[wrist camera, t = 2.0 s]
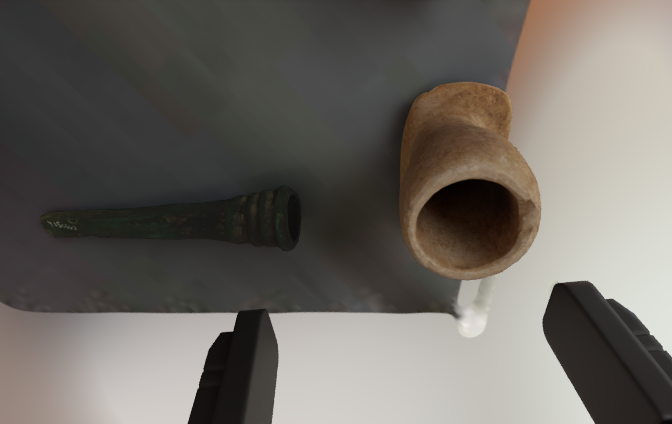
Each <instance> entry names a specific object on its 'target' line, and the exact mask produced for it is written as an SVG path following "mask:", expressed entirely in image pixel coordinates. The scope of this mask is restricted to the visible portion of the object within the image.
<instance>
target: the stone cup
mask: <svg viewBox="0 0 672 424" xmlns="http://www.w3.org/2000/svg"><path fill="white" fill-rule="evenodd" d="M511 118H512V105H511V99H510V97H509V96H508V94H506V93H505V92H503V91H502V90H501V89H499V88H496V87H494V86H491V85H487V84H482V83H477V82H455V83H448V84H442V85H439V86H437V87H435V88H433V89H432V90H431V91H430V92H425V93H422V94H420V95H419V96H418V97H417V98H416V99H415V101H414V102H413V104H412V106H411V108H410V111H409V114H408V117H407V120H406V123H405V128H404V132H403V137H402V146H401V158H400V196H399V216H400V226H401V233H402V236H403V239H404V242H405V244H406V245H407V247H408V249H409V251H410V252H411V254H412V255H413V256H414V258H415V259H416V260H417V261H418V262H419V263H420V264H421V265H423V266H424V267H425V268H427V269H429V270H430V271H432V272H434V273H436V274H438V275H441V276H444V277H447V278H452V279H459V280H475V279H481V278H485V277H488V276H491V275H495V274H497V273H500V272H502V271H503V270H505V269H507V268H508V267H509V266H511V265H512V264H514V263H515V262H517V261H518V260H519V259H520V258H521V257H522V256H523V255H524V254H525V253H526V252H527V251H528V249H529V248H530V247H531V245H532V243H533V241H534V239H535V237H536V235H537V232H538V229H539V224H540V219H541V201H540V192H539V188H538V184H537V181H536V178H535V176H534V174H533V172H532V171H531V169H530V167H529V166H528V164H527V162H526V161H525V159H524V158H523V157H522V155H521V154H520V152H519V151H518V150H517V149H516V147H514V146H513V145H512V144H511V143H510V142H509V141H508V138H509V133H510V125H511Z"/></svg>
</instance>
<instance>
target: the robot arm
mask: <svg viewBox="0 0 672 424" xmlns="http://www.w3.org/2000/svg"><path fill="white" fill-rule="evenodd" d="M543 331H544V334H545V337H546V339H547V341H548V343H549V345H550V347H551V348H552V350H553V352H554V354H555V355H556V357H557V359H558V360H559V362H560V364H561V366H562V367H563V369H564V371H565V373H566V374H567V376H568V378H569V379H570V381H571V383H572V384H573V386H574V388H575V390H576V392H577V393H578V395H579V397H580V398H581V400H582V402H583V404H584V405H585V407H586V409H587V411H588V412H589V414H590V416H591V417H592V419H593V421H594V422H595V424H672V357H671V356H670V355H669V354H668V353H667V351H664V350H663V348H662V345H661V344H660V343H659V342H658V341H657V340H656V339H655V337H654V336H652V335H650V333H649V330H648V329H647V328H646V327H645V326H644V325H643V324H642V322H641V321H640V320H639V319H638V318H637V317H636V315H635V314H634V313H632V312H631V311H629V310H628V309H627V308H625V307H623V306H622V305H621V304H619V303H618V302H616V301H615V300H614V299H604V297H603V296H602V295H601V293H600V292H599V291H598V290H597V289H596V287H595V286H594V285H593V284H592V283H590V282H588V281H577V282H566V283H557V284H555V286H554V287H553V290H552V293H551V296H550V299H549V302H548V305H547V308H546V311H545V314H544V317H543ZM277 368H278V344H277V340H276V337H275V333H274V330H273V327H272V324H271V321H270V317H269V314H268V311H267V309H258V310H247V311H240V312H239V313H238V315H237V318H236V322H235V326H234V331H233V332H222V333H220V335H219V336H218V338H217V339H216V340H215V342H214V343H213V345H212V346H211V347H210V349H209V351H208V355H207V358H206V361H205V365H204V368H203V369H204V372H203V373H202V375H201V379H200V382H199V389H198V390H197V393H196V397H195V400H194V403H193V407H192V410H191V414H190V417H189V421H188V424H271V423H272V415H273V406H274V397H275V387H276V378H277Z"/></svg>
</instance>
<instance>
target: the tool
mask: <svg viewBox="0 0 672 424" xmlns="http://www.w3.org/2000/svg"><path fill="white" fill-rule="evenodd" d="M41 224H42V225H43V226H44V227H45V229H46V230H47V231H48V232H49V233H50V234H51V235H52V236H54V237H85V236H94V237H116V238H148V239H214V240H221V241H227V242H232V243H236V244H242V243H251V244H252V245H254V246H258V247H260V246H263V245H264V246H268V247H279V248H280V249H281V250H283V251H291V250H293V249H294V248H295V246H296V244H297V243H298V240H299V235H300V226H301V206H300V199H299V196H298V194H297V193H296V192H294V191H293V190H292V189H291V188H290V187H288V186H281V187H279V188H278V189H276V190H275V191H263V192H261V193H253V194H251V195H250V196H244V195H240V196H237V197H235V198H233V199H228V200H223V201H216V202H206V203H196V204H173V205H165V206H156V207H145V208H136V209H111V210H85V211H64V212H52V213H48V214H46V215H43V216H41Z"/></svg>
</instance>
